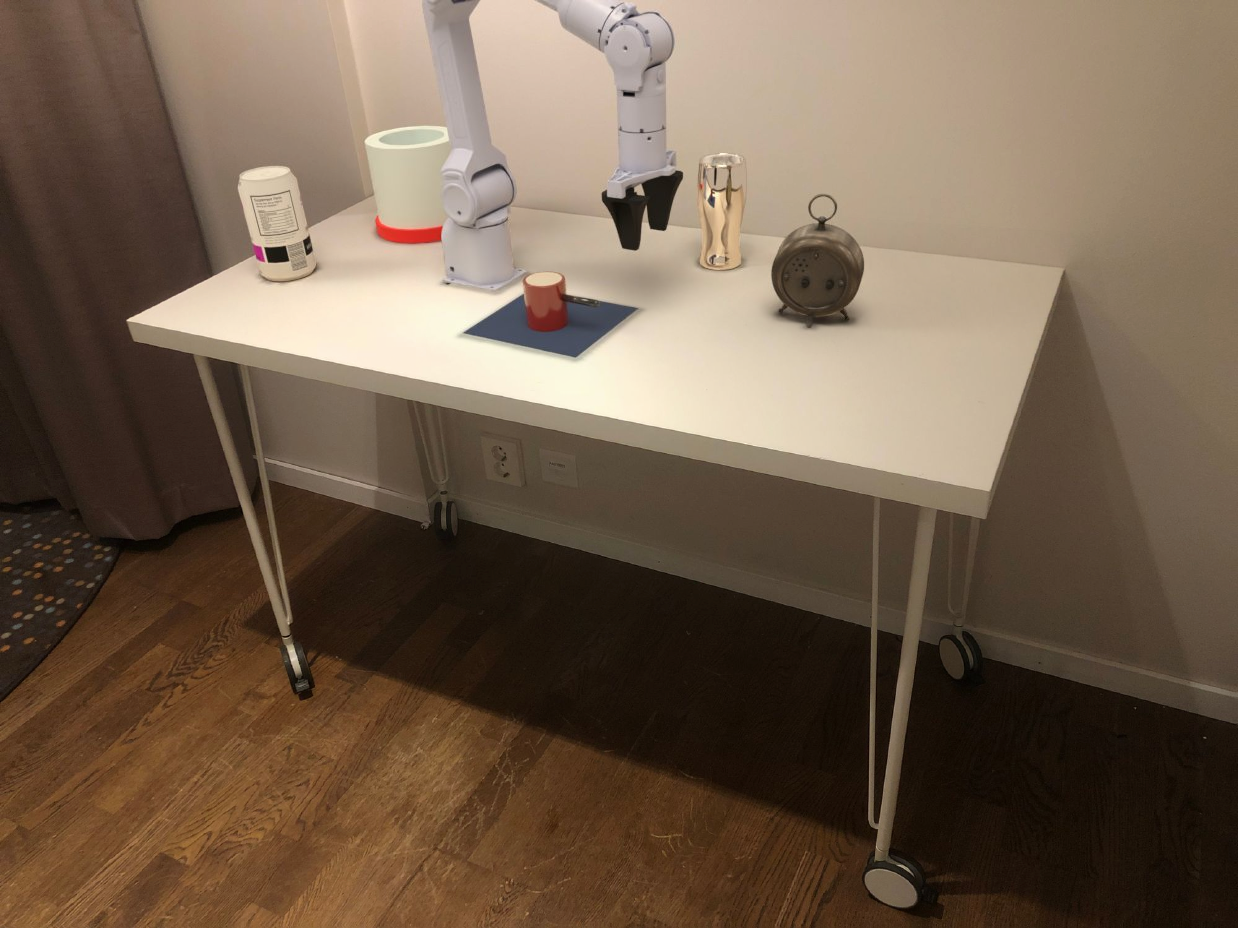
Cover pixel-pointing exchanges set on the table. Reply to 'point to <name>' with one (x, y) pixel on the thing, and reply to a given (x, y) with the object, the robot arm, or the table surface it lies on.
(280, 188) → the supplement can
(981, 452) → the table surface
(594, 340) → the cloth
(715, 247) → the beer glass
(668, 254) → the table surface
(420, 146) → the container
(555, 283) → the pot
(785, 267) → the alarm clock
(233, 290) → the table surface
